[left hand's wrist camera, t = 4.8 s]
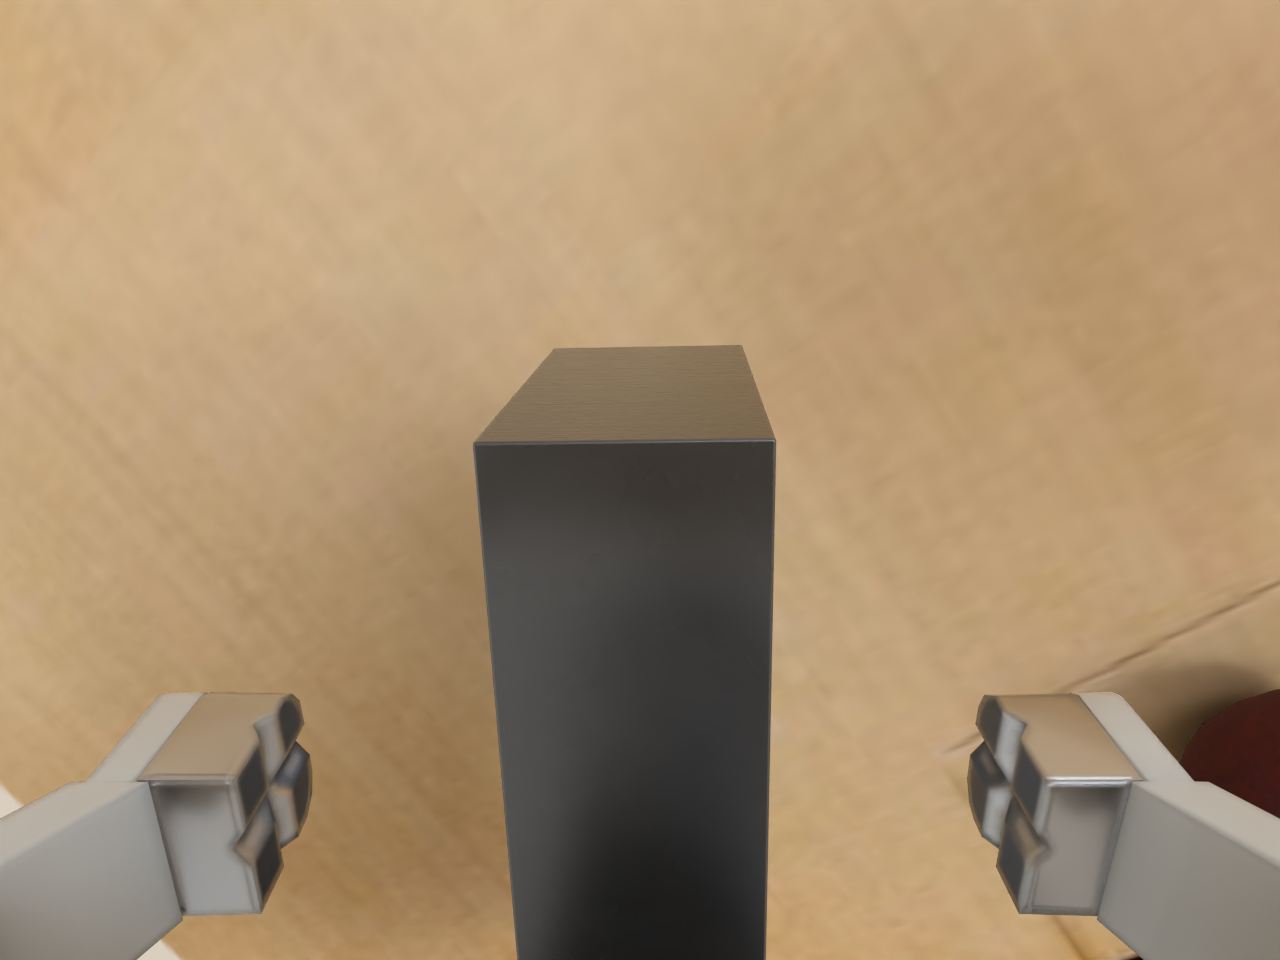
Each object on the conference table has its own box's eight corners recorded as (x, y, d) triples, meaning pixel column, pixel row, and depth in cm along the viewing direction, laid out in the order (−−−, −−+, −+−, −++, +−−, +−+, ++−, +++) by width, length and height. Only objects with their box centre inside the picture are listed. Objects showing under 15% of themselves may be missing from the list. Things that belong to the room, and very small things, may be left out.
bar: (553, 348, 22) (472, 442, 14) (742, 344, 22) (776, 438, 14) (593, 1057, 29) (555, 1406, 21) (736, 1061, 29) (756, 1415, 21)
